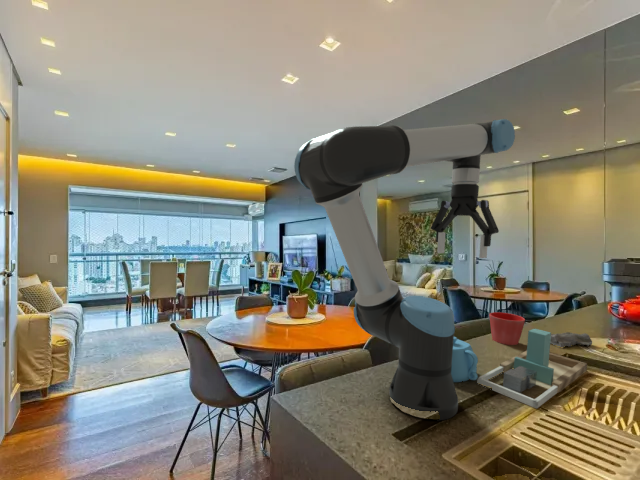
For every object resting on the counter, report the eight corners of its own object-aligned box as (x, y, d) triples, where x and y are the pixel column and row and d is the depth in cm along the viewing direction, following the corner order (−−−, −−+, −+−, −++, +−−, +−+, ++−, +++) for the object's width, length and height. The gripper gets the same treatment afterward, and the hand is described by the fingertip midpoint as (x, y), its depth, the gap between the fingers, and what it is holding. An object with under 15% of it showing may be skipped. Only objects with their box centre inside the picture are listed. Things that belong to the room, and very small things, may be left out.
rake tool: (550, 385, 86) (554, 339, 86) (513, 371, 93) (516, 329, 93) (558, 379, 90) (561, 335, 89) (521, 367, 97) (524, 326, 96)
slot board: (558, 396, 83) (559, 384, 82) (499, 374, 94) (499, 363, 94) (586, 373, 96) (587, 363, 96) (532, 356, 107) (532, 347, 107)
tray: (536, 412, 75) (537, 401, 75) (476, 387, 86) (477, 377, 86) (557, 396, 83) (557, 386, 83) (499, 374, 94) (500, 365, 93)
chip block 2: (529, 391, 84) (530, 375, 84) (512, 384, 87) (513, 369, 87) (535, 386, 86) (536, 371, 86) (518, 380, 90) (519, 365, 89)
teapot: (436, 323, 104) (493, 342, 88) (434, 357, 104) (490, 382, 89) (407, 329, 97) (463, 351, 82) (405, 365, 98) (460, 394, 82)
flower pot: (502, 336, 125) (504, 310, 125) (530, 347, 115) (532, 319, 115) (480, 339, 122) (482, 312, 121) (507, 350, 112) (509, 321, 111)
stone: (558, 349, 115) (559, 337, 115) (537, 339, 125) (538, 328, 124) (597, 349, 117) (598, 337, 116) (574, 339, 126) (574, 328, 126)
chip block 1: (519, 395, 82) (521, 379, 82) (502, 388, 85) (503, 372, 85) (526, 390, 84) (528, 374, 84) (509, 383, 88) (511, 368, 87)
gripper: (515, 182, 93) (509, 259, 95) (435, 187, 113) (432, 250, 114) (502, 180, 89) (496, 260, 90) (422, 185, 109) (418, 251, 110)
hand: (460, 255), depth 102 cm, fingers open, 13 cm apart
